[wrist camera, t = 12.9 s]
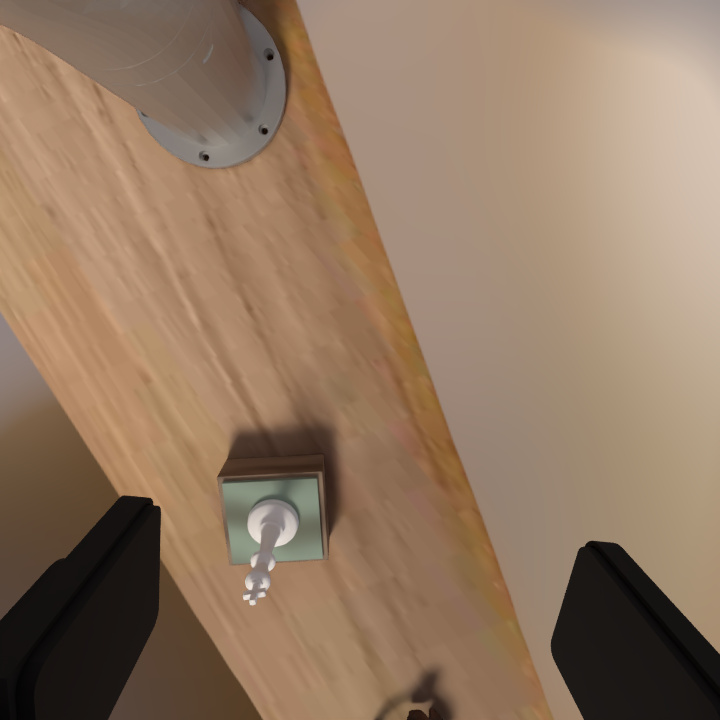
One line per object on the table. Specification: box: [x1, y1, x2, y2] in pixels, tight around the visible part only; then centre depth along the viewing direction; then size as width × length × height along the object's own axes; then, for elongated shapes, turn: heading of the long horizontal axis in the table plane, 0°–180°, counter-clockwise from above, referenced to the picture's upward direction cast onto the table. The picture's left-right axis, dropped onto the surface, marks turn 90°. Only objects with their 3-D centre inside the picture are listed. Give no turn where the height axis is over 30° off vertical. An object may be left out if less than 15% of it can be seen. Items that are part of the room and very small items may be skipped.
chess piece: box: [243, 499, 299, 605], centre depth 38 cm, size 5×5×10 cm
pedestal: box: [217, 454, 329, 566], centre depth 44 cm, size 10×10×4 cm
